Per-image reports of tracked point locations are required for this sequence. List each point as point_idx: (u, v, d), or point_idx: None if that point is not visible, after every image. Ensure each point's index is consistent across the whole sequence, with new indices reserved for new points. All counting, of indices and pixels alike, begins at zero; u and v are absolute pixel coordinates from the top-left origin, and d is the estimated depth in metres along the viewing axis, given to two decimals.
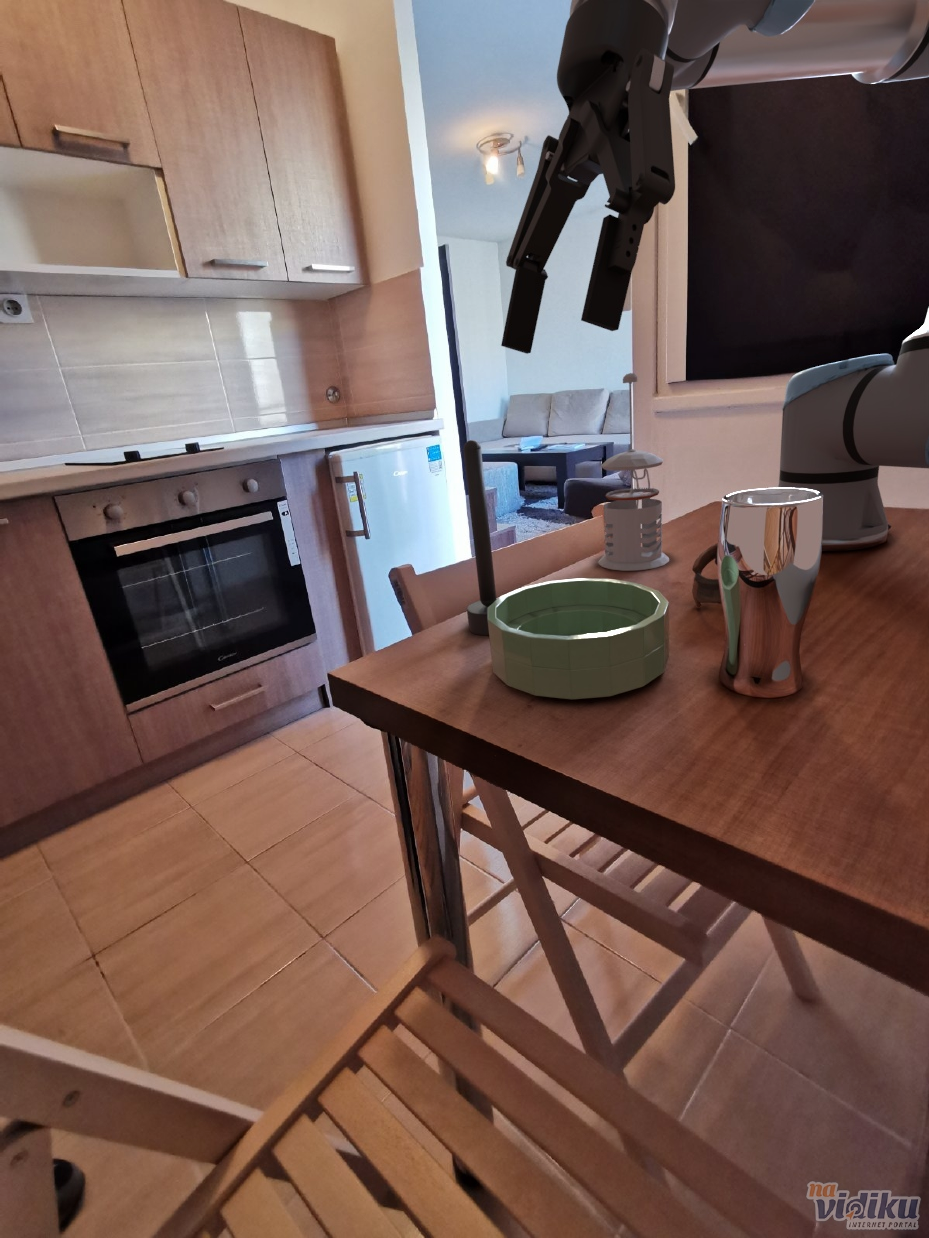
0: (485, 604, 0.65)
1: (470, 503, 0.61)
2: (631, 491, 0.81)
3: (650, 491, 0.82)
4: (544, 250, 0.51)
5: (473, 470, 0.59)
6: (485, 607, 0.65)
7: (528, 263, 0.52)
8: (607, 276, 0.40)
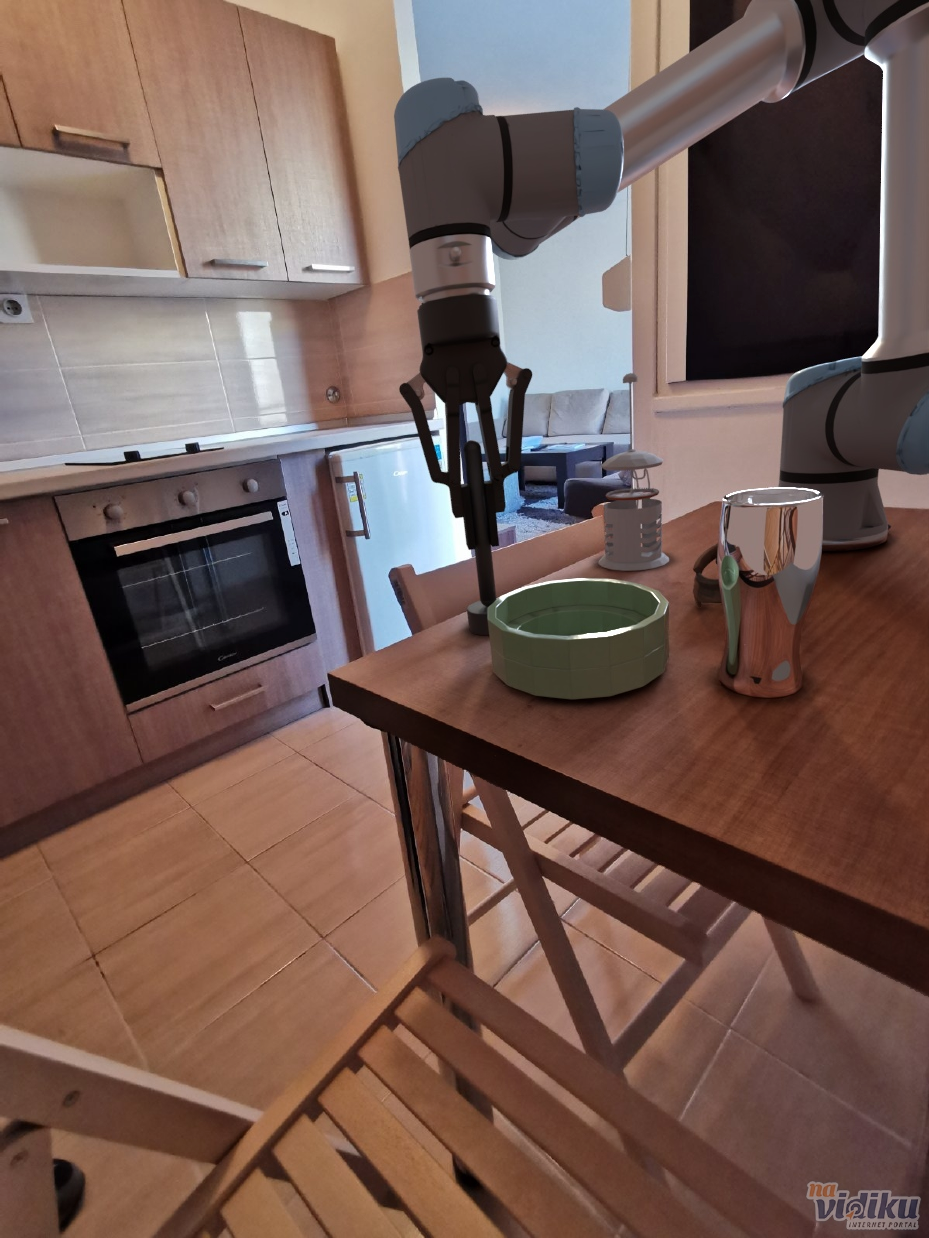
0: (485, 604, 0.65)
1: None
2: (631, 491, 0.81)
3: (650, 491, 0.82)
4: None
5: (473, 470, 0.59)
6: (485, 607, 0.65)
7: None
8: None
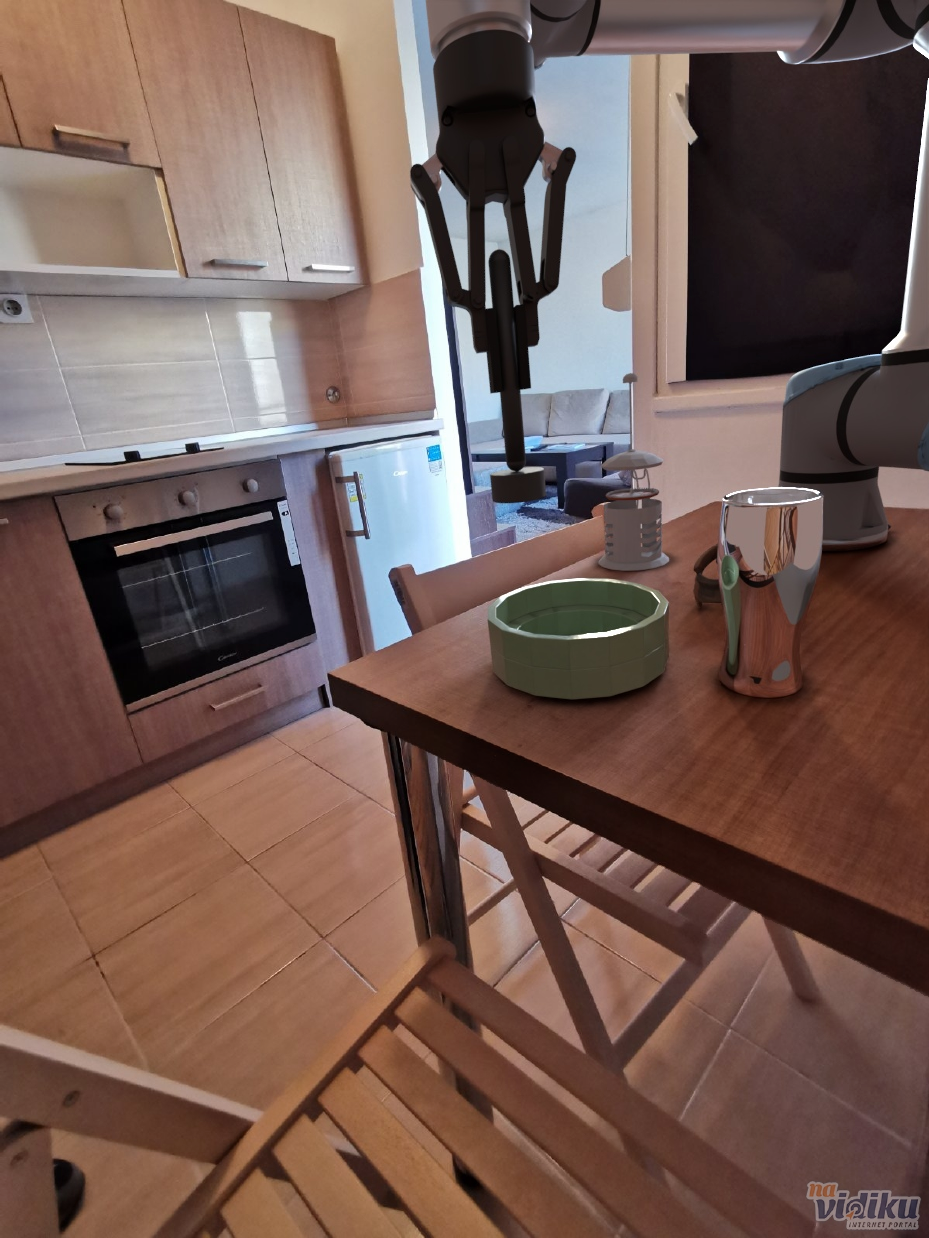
0: (512, 467, 0.53)
1: None
2: (631, 491, 0.81)
3: (650, 491, 0.82)
4: None
5: (500, 288, 0.48)
6: (512, 472, 0.54)
7: None
8: None
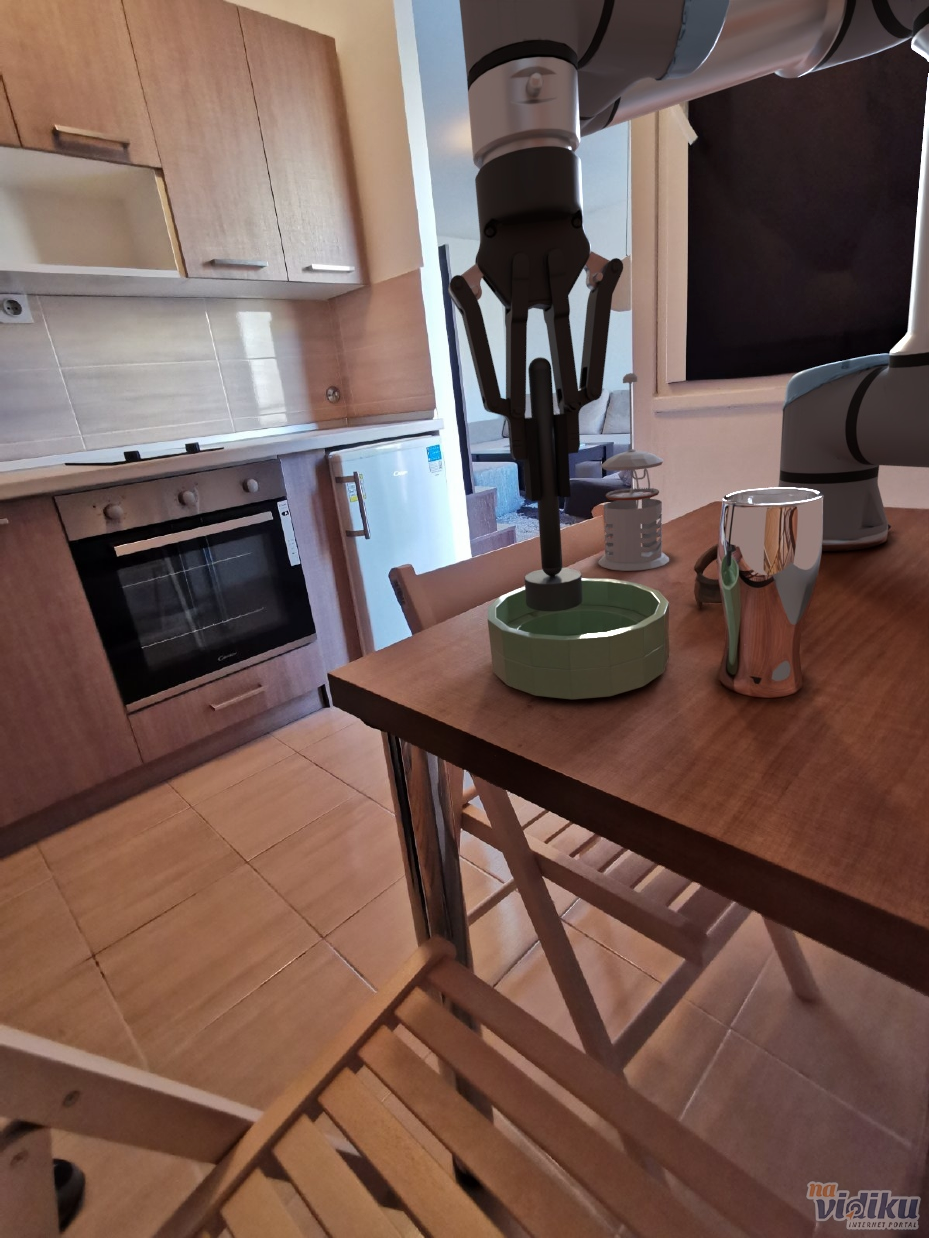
0: (549, 573, 0.51)
1: None
2: (631, 491, 0.81)
3: (650, 491, 0.82)
4: None
5: (541, 397, 0.46)
6: (548, 577, 0.52)
7: None
8: None
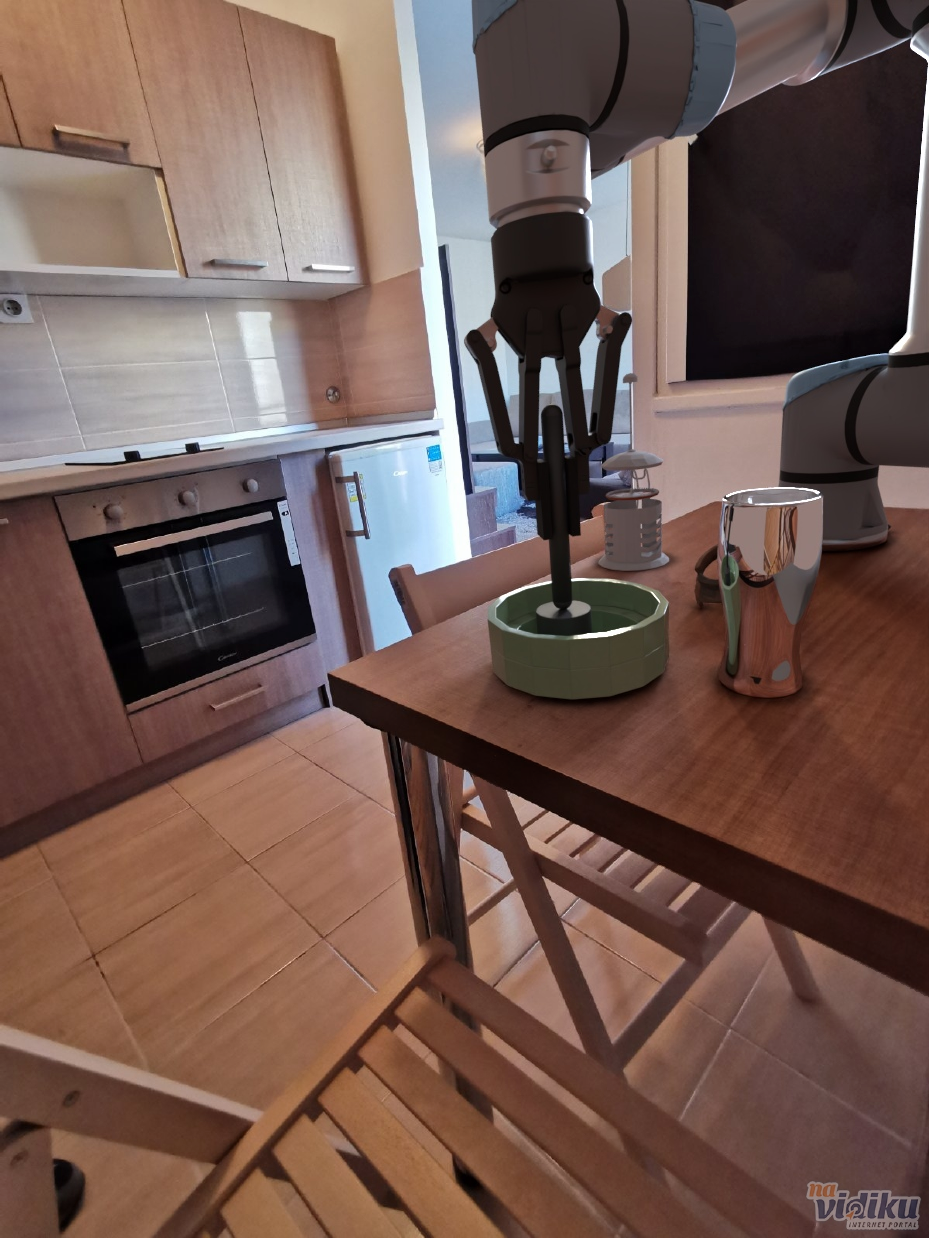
0: (559, 607, 0.53)
1: None
2: (631, 491, 0.81)
3: (650, 491, 0.82)
4: None
5: (553, 442, 0.48)
6: (558, 610, 0.54)
7: None
8: None
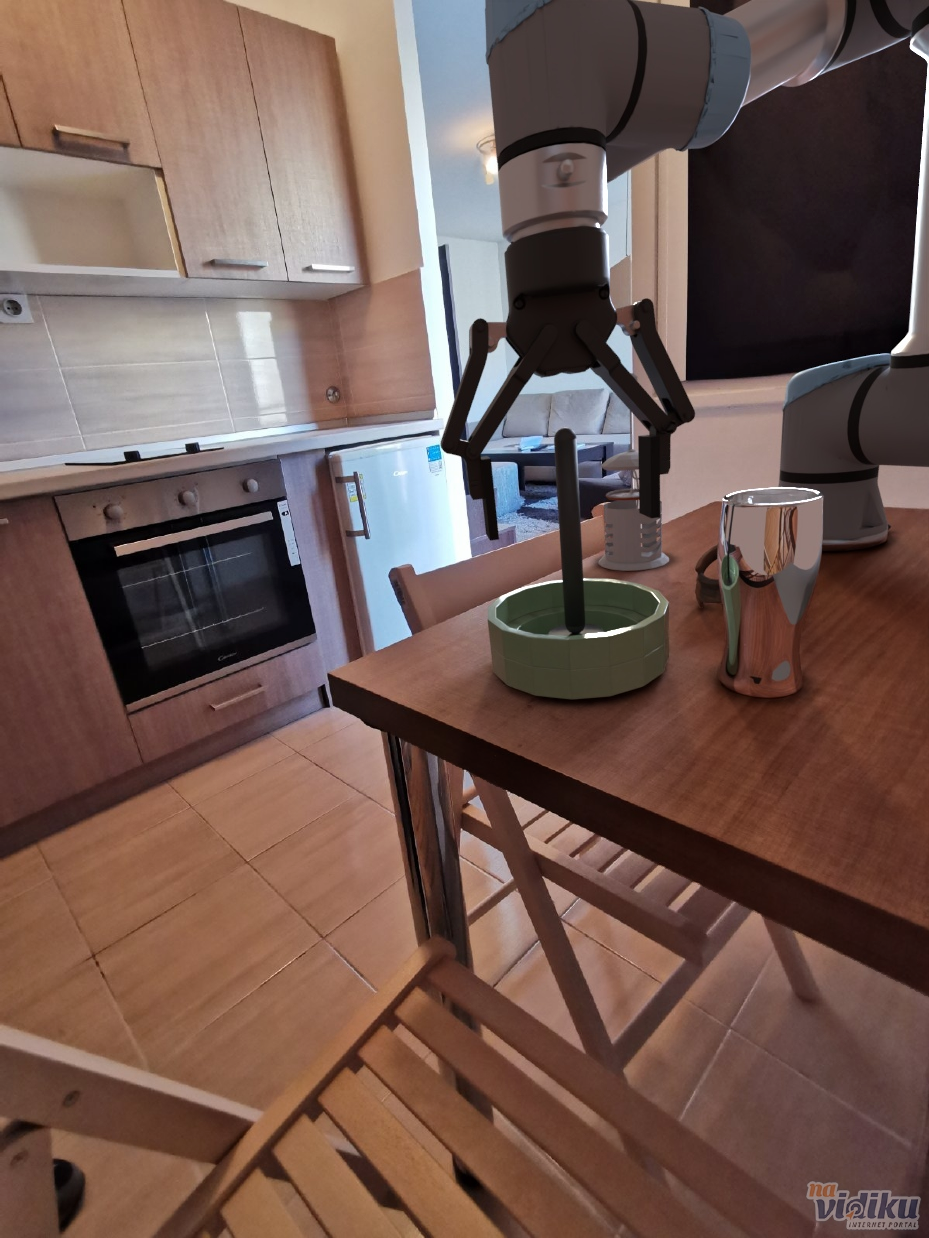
0: (572, 631, 0.52)
1: (560, 507, 0.49)
2: (631, 491, 0.81)
3: None
4: None
5: (566, 466, 0.47)
6: (571, 635, 0.53)
7: None
8: None
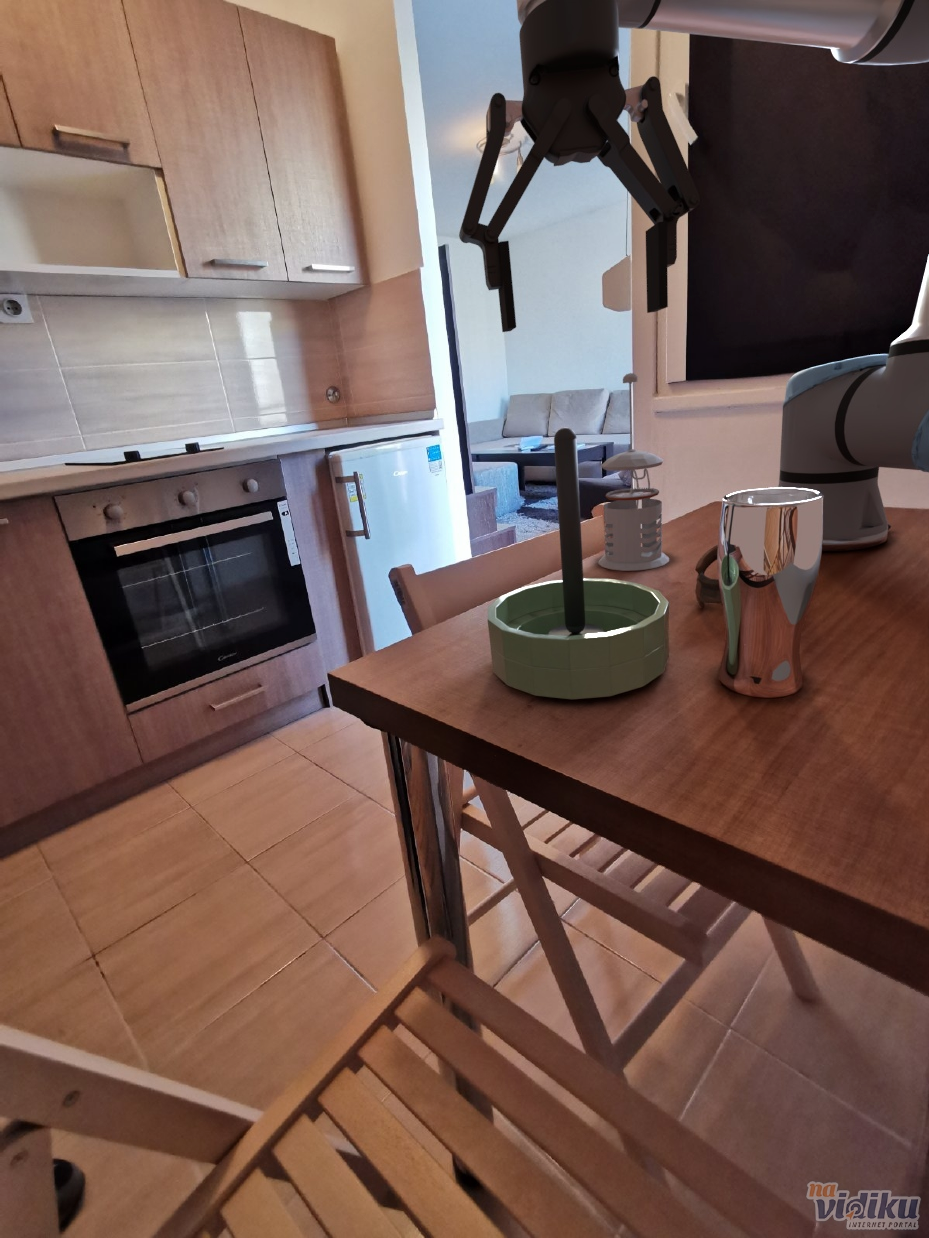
0: (572, 631, 0.52)
1: (560, 507, 0.49)
2: (631, 491, 0.81)
3: (650, 491, 0.82)
4: None
5: (566, 466, 0.47)
6: (571, 635, 0.53)
7: None
8: None
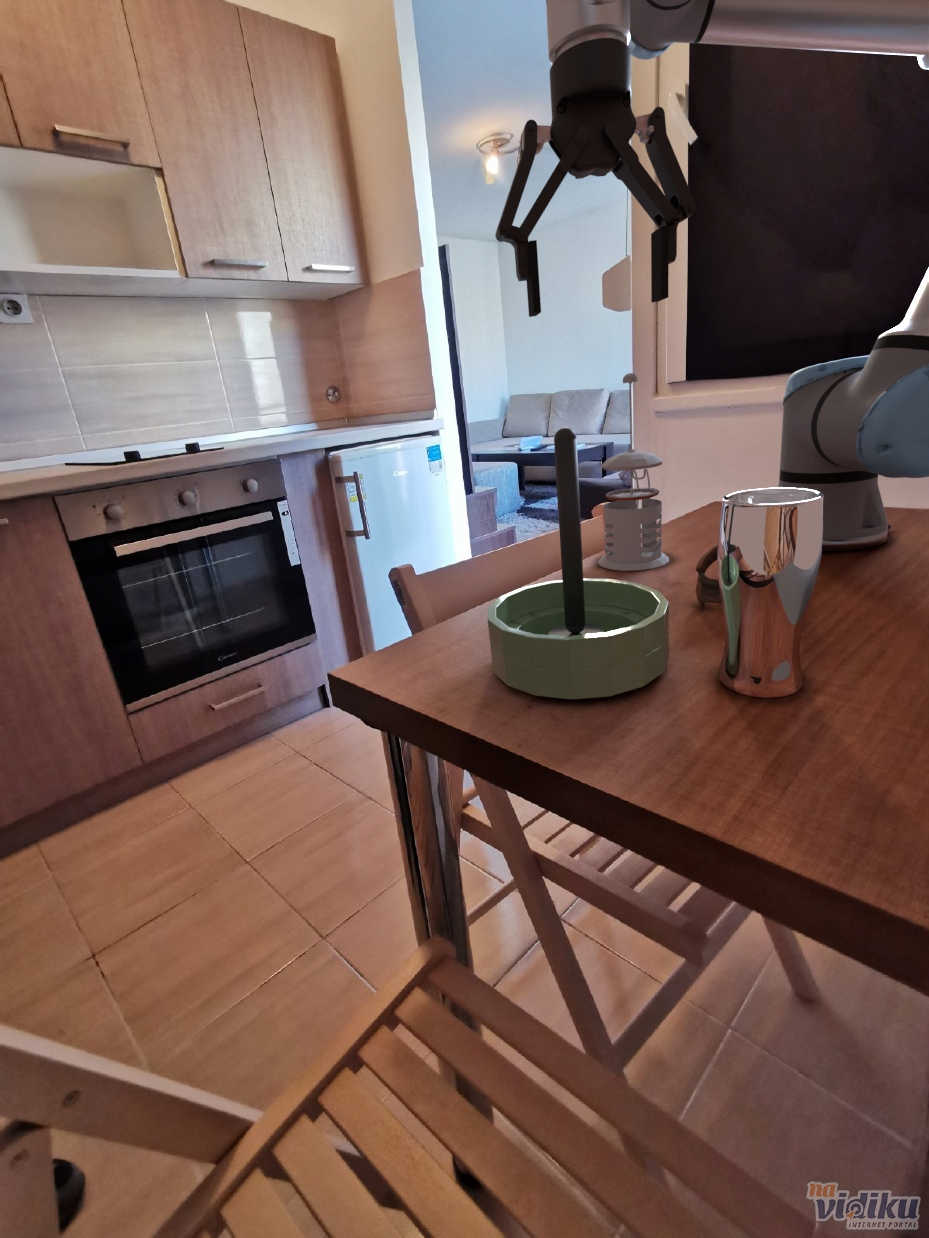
0: (572, 631, 0.52)
1: (560, 507, 0.49)
2: (631, 491, 0.81)
3: (650, 491, 0.82)
4: None
5: (566, 466, 0.47)
6: (571, 635, 0.53)
7: None
8: None
